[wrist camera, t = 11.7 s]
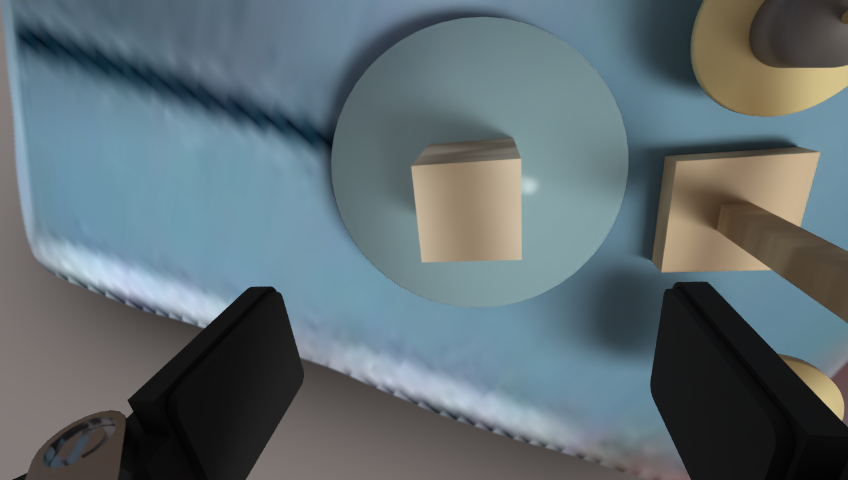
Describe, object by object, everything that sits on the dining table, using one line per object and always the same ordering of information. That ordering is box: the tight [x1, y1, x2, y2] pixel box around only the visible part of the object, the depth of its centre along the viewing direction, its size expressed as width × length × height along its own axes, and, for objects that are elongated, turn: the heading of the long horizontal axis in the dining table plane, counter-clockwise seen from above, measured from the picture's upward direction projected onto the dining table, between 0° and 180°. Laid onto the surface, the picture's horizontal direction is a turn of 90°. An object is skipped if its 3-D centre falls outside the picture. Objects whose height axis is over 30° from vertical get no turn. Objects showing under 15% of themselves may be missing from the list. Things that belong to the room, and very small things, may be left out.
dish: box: [331, 17, 629, 308], centre depth 25 cm, size 18×18×2 cm
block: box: [411, 138, 522, 262], centre depth 22 cm, size 5×5×6 cm
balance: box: [652, 0, 848, 421], centre depth 18 cm, size 8×28×16 cm, turn 6°
